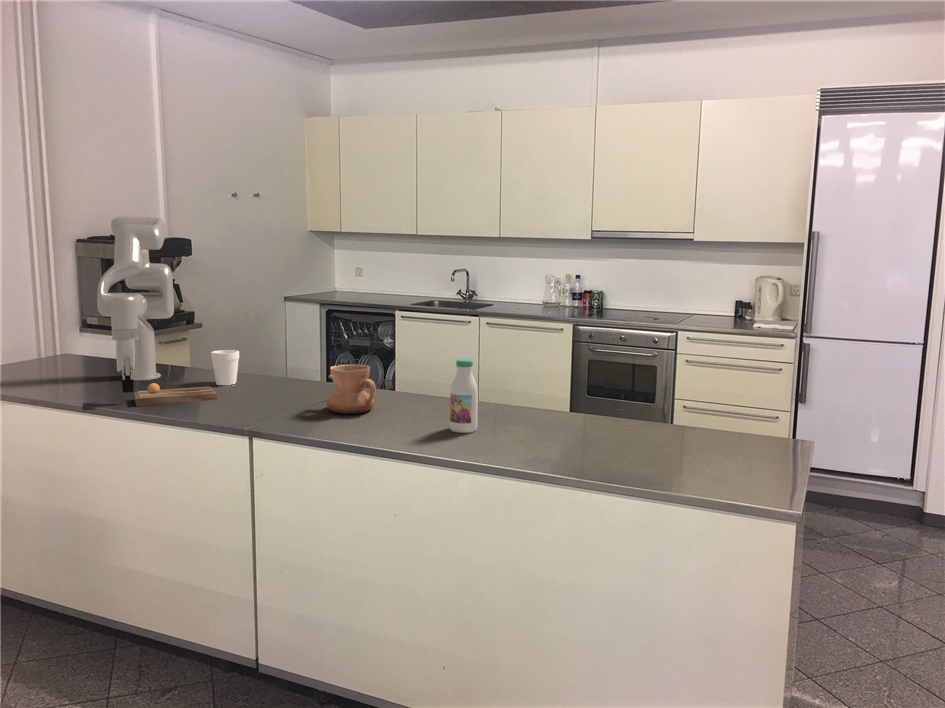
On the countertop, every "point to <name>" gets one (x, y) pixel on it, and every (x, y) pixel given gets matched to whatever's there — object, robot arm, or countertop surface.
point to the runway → (174, 396)
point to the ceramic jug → (351, 389)
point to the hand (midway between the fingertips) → (128, 391)
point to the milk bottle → (464, 399)
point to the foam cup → (225, 366)
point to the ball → (153, 388)
